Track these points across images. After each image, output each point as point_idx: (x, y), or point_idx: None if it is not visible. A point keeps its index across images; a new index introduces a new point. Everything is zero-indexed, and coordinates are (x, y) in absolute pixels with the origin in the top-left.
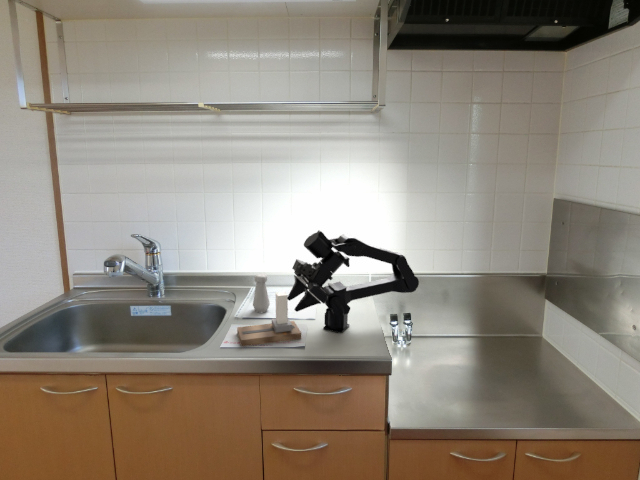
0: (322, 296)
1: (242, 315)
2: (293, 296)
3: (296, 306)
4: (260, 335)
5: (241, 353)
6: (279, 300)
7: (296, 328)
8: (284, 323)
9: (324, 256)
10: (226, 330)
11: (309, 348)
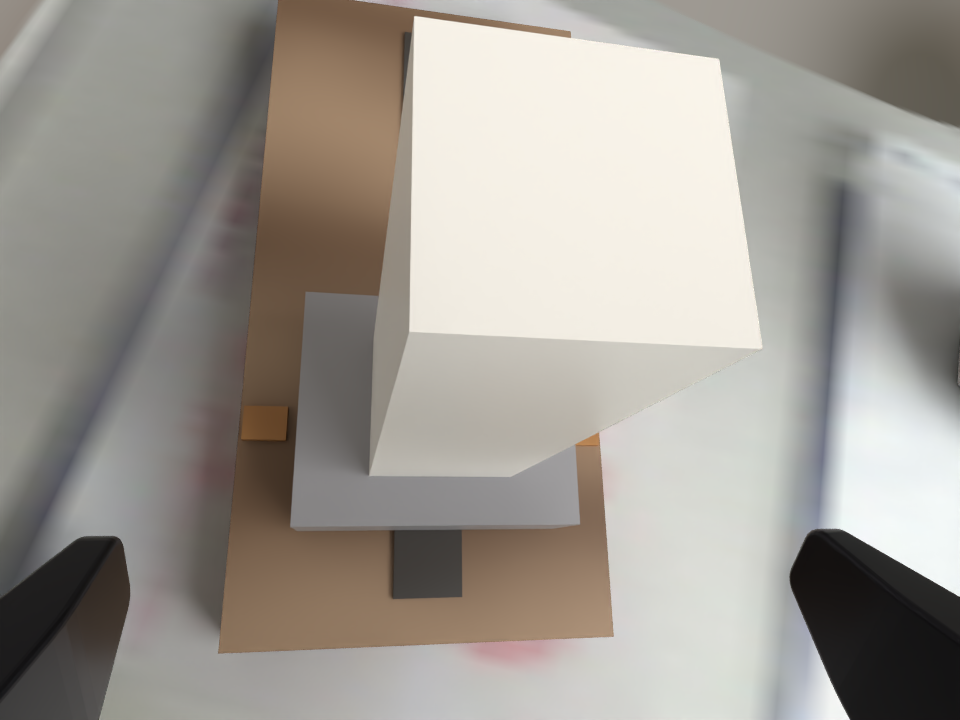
0: None
1: (900, 196)
2: (871, 696)
3: (41, 593)
4: (320, 167)
5: (152, 10)
6: (398, 160)
7: (374, 615)
8: (363, 427)
9: None
10: (626, 19)
11: None
